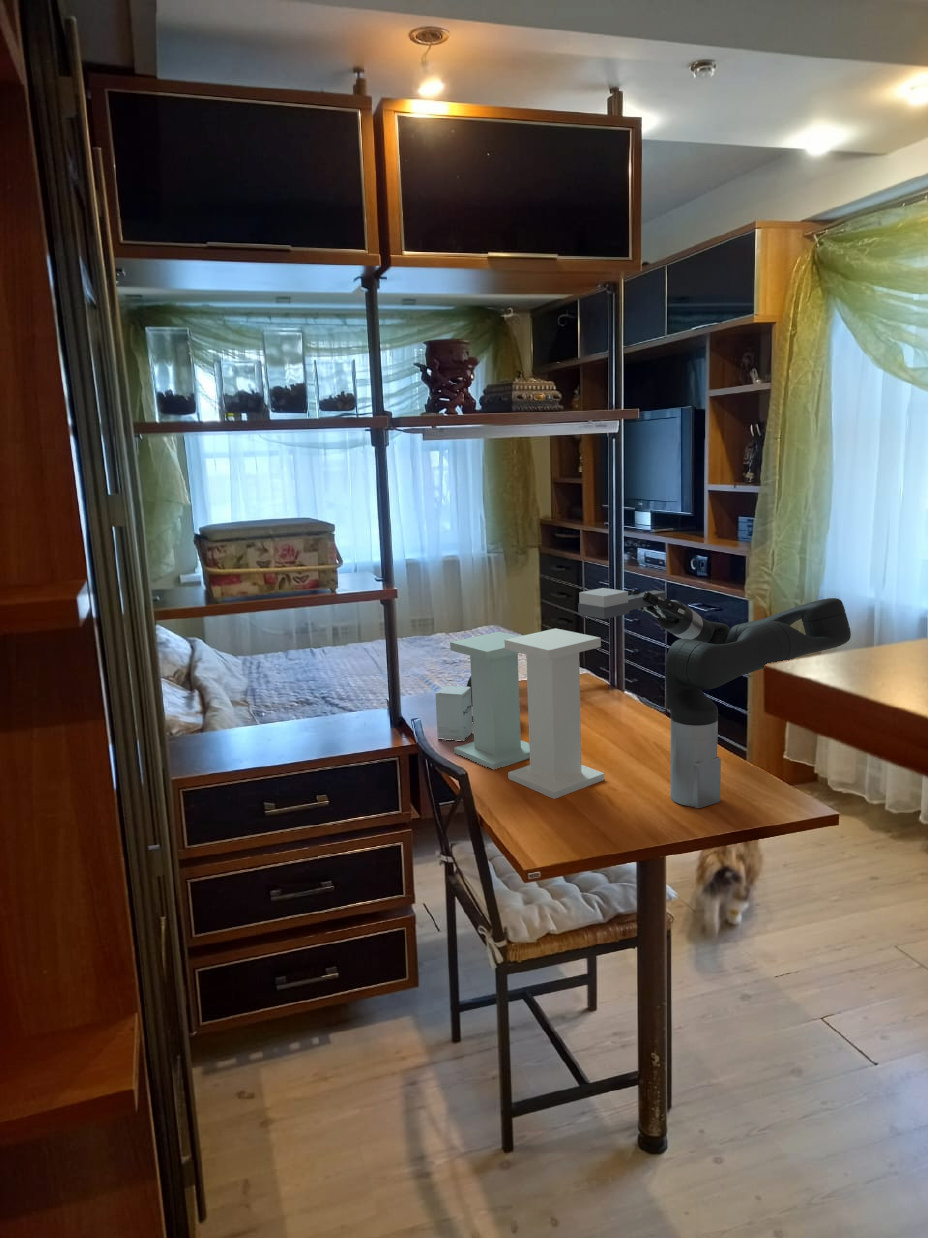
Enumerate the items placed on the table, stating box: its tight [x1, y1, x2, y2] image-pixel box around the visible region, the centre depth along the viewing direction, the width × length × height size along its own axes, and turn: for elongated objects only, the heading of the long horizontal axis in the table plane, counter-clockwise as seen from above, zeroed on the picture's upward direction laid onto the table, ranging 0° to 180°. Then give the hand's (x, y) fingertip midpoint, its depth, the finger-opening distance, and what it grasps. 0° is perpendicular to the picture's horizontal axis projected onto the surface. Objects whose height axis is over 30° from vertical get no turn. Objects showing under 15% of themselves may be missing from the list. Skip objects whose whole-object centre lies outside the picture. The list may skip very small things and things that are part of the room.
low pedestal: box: [449, 631, 530, 770], centre depth 202 cm, size 15×15×28 cm
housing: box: [577, 587, 667, 620], centre depth 194 cm, size 23×8×5 cm, turn 127°
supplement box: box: [434, 685, 474, 741], centre depth 217 cm, size 7×7×13 cm
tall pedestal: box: [504, 627, 605, 800], centre depth 184 cm, size 15×15×32 cm
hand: (638, 594), depth 196 cm, fingers closed on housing, 3 cm apart
